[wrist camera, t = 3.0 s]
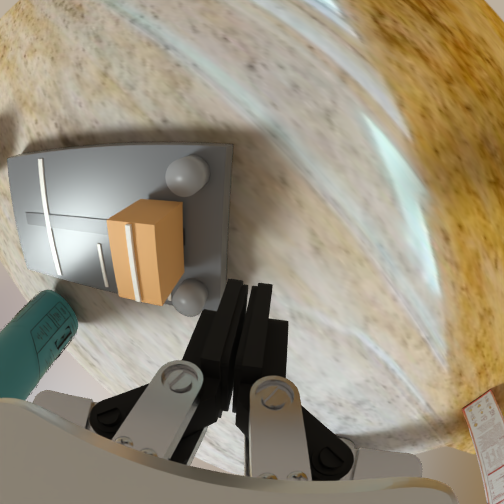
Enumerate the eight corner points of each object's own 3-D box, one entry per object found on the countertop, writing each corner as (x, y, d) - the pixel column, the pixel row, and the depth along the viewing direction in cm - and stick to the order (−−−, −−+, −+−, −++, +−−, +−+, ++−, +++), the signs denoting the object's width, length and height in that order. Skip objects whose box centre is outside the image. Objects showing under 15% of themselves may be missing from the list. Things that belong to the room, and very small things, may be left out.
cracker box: (498, 410, 28) (523, 497, 9) (472, 428, 30) (491, 516, 12) (493, 385, 25) (529, 497, 6) (460, 407, 27) (487, 522, 8)
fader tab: (182, 202, 17) (152, 226, 13) (184, 272, 19) (160, 308, 15) (140, 198, 17) (104, 221, 13) (146, 265, 19) (117, 298, 16)
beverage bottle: (41, 275, 25) (-67, 387, 8) (80, 288, 25) (-37, 428, 7) (55, 318, 28) (-31, 427, 10) (93, 333, 28) (5, 464, 10)
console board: (233, 144, 17) (219, 149, 14) (225, 298, 22) (215, 327, 19) (21, 153, 19) (-5, 162, 16) (38, 260, 24) (18, 276, 21)
